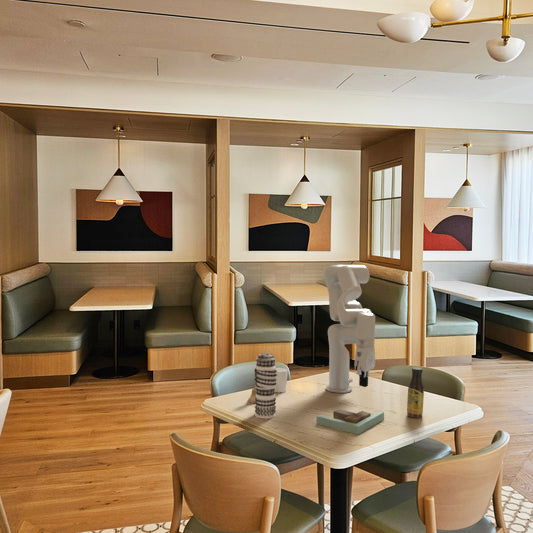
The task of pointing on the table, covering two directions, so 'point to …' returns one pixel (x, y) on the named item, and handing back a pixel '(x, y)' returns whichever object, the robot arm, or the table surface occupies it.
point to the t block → (350, 416)
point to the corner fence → (349, 426)
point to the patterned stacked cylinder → (265, 386)
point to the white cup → (281, 380)
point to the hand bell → (253, 395)
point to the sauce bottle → (415, 394)
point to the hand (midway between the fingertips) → (363, 385)
